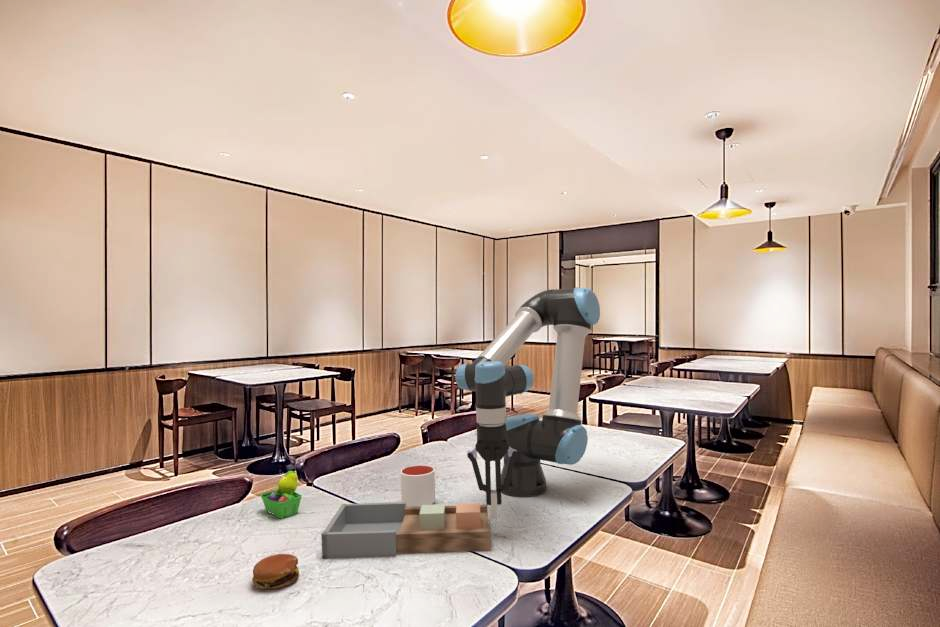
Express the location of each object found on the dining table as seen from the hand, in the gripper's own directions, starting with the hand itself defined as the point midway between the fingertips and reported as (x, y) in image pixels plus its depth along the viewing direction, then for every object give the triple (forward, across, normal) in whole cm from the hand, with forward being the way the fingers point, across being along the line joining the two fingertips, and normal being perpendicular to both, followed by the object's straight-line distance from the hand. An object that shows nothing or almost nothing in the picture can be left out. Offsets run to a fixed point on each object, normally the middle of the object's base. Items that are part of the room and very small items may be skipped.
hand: (494, 517), depth 128 cm
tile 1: (+2, +16, 0) cm, 16 cm away
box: (+5, +32, 0) cm, 32 cm away
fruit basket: (+5, +60, -20) cm, 64 cm away
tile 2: (+2, +6, 0) cm, 7 cm away
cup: (+5, +21, -23) cm, 32 cm away
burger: (+5, +48, +18) cm, 52 cm away
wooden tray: (+5, +12, 0) cm, 13 cm away
